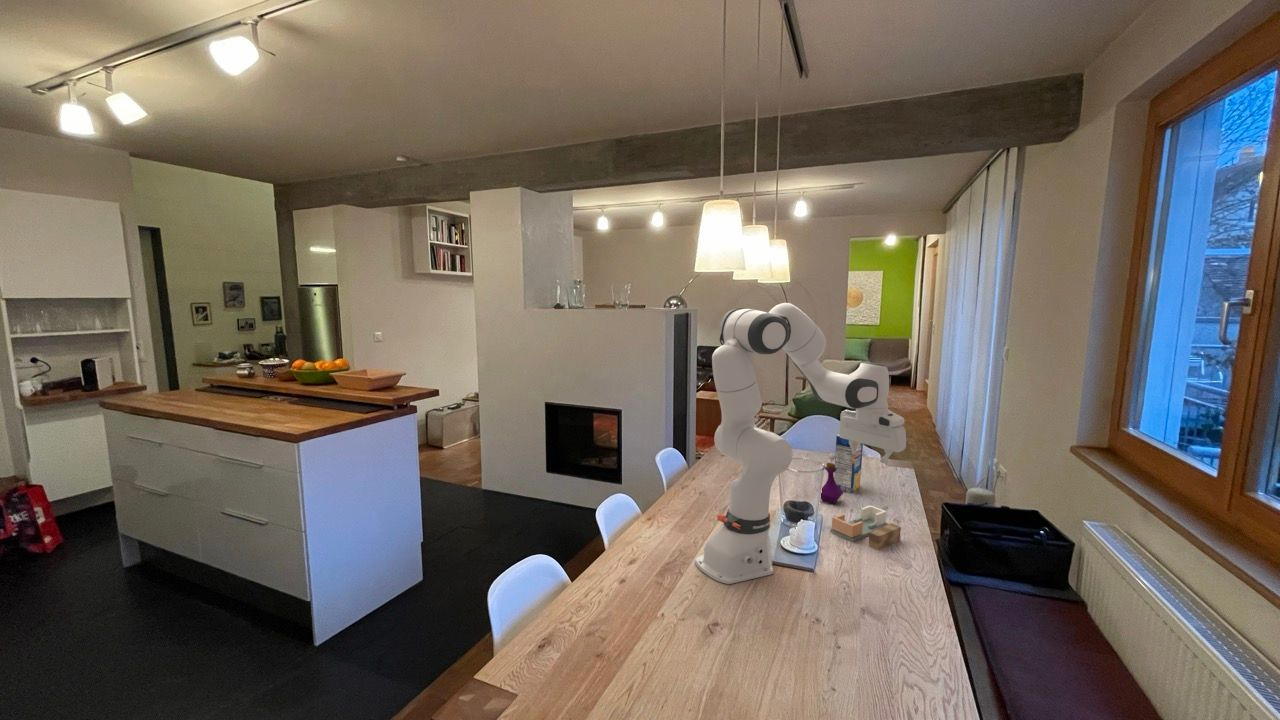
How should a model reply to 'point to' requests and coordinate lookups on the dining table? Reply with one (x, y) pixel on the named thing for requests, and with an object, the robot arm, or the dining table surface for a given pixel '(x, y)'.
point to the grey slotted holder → (867, 522)
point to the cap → (846, 526)
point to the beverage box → (847, 465)
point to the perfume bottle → (831, 484)
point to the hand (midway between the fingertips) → (869, 458)
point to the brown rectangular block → (884, 536)
